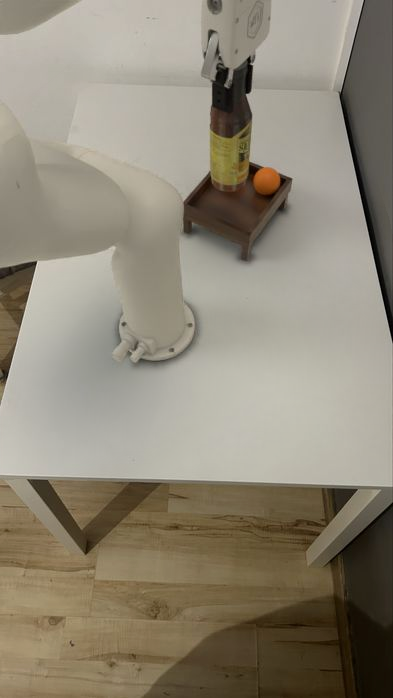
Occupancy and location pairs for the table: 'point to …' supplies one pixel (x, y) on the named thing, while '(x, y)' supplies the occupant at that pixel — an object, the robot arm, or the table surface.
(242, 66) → the sauce bottle
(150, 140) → the table surface
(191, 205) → the tray
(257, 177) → the clementine
